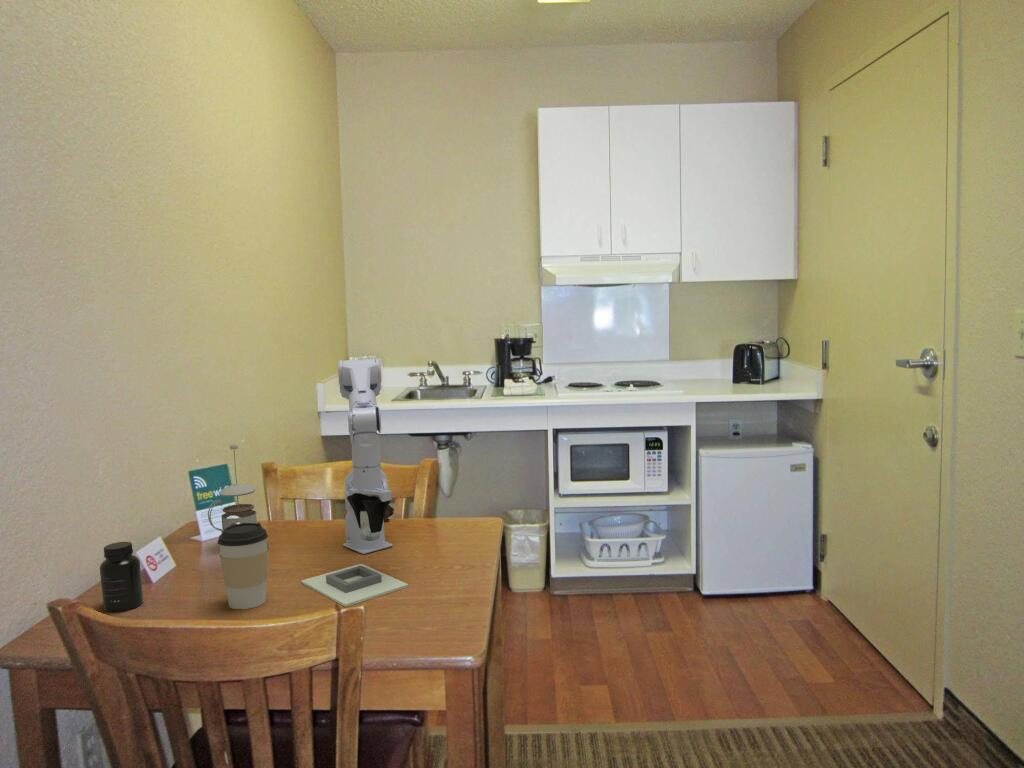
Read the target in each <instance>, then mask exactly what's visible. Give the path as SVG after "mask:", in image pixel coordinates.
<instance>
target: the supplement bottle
mask: <svg viewBox="0 0 1024 768" xmlns="http://www.w3.org/2000/svg"><path fill="white" fill-rule="evenodd" d="M133 553H134V549H133V544H132V542H130V541H118V542H113V543H112V542H111V543H109V544H107V545H105V546H104V547H103V557H104V560H103V561H102V562H101V564H100V566H99V576H100V584H101V585H100V586H101V594H102V595H101V596H102V605H103V608H104V610H105V611H107V612H109V613H119V612H126V611H130V610H133V609H135V608H137V607H139V606H141V604H142V603H143V602H144V590H143V580H142V573H141V571H142V570H141V563H140V558H138V556H136V555H135V554H133Z"/></svg>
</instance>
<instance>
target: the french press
mask: <svg viewBox="0 0 1024 768" xmlns="http://www.w3.org/2000/svg"><path fill="white" fill-rule="evenodd" d="M229 449H230V450H233V459H234V471H235V472H234V473H235V474H234V475H235V484H234V483H233V484H231V485H228V486H225V487H224V488H223V489H221V490H220V491H218V494H219V496H220V497H224V498H225V497H229V498H230V497H236V500H237V504H231V505H228V506H224V507H223V508H222V512H223V513H222V515H221V528H222V529H221V528H219V527H216V526H215V525H214V524H213V522H212V512H213V508H214V507H215V506H216V505H217V504H218V503H219V505H220V506H221V507H222V506H223V501H222V499H219V498H218V499H216V500H214V501H213V502H212V503H211V504H210V505H209V507H208V511H207V519H208V522H209V524H210V525H211V527H213V529H215V530H216V531H219V532H221V534H222V533H223V531H224V529H225V528H227V527H229V526H232V525H236V524H242V523H258V522H257V511H256V510H254V509H255V505H254V504H252V503H239V497H241V496H247V495H251V494H253V493H254V492H255V491H256V489H255V487H254V486H252V485H249V484H245V483H238V482H237V481H238V480H237V479H238V477H237V468H236V467H237V466H236V452H235V450H238V449H239V445H238V444H237V443H231V444H230V446H229ZM232 516H233V517H234V516H235V517H236V518H235V517H234V518H232ZM229 517H230V518H229Z"/></svg>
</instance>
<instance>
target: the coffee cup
mask: <svg viewBox="0 0 1024 768" xmlns="http://www.w3.org/2000/svg"><path fill="white" fill-rule="evenodd" d="M218 536H219V537H218V540H217V544H218V546H219V547H218V548H219V549H220V551H219V557H220V559H219V560H220V563H221V571H222V576H223V583H224V586H225V590H226V596H227V602H228V607H229V608H230V609H233V610H238V609H241V610H248V609H249V610H251V609H254V608H257V607H259V606H262V605H264V604H265V603H266V602H267V580H268V554H269V553H268V551H269V550H268V549H269V547H268V548H267V542H268V537H269V534H268V533H267V530H266V529H265V528H264V527H263V526H262V525H261V523H260V522H257V523H236V525H232V526H229V527H227V528H225V529H224V531H223V533H222V532H221V533H220V535H218ZM241 610H240V611H241Z"/></svg>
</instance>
